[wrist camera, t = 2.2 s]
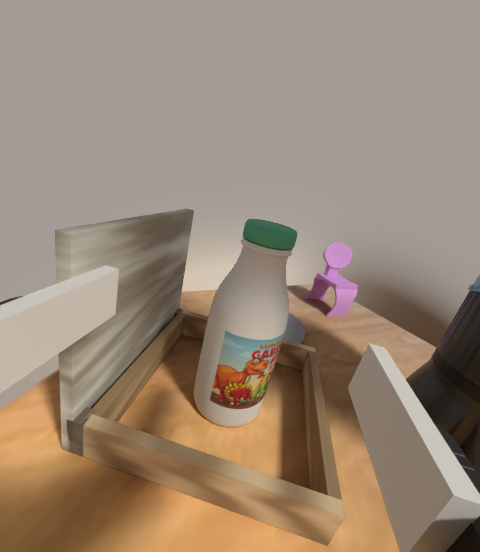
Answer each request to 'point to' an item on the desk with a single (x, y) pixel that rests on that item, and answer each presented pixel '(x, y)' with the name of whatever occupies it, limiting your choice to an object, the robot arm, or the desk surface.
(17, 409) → the desk surface
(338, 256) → the toy chair
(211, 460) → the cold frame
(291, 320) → the pad
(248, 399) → the milk bottle
